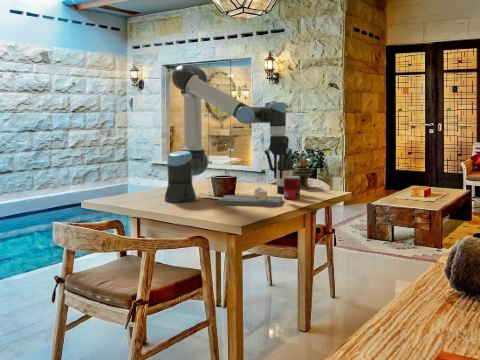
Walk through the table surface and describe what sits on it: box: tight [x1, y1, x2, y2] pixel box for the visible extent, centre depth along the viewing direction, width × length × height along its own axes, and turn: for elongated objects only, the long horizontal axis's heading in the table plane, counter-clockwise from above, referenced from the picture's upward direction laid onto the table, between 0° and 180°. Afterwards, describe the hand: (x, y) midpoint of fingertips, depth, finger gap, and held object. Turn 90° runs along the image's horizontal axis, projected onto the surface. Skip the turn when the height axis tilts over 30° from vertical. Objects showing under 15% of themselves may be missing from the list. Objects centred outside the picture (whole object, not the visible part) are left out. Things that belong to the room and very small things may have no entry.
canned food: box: [283, 176, 301, 201], centre depth 255 cm, size 8×8×11 cm
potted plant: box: [293, 152, 313, 190], centre depth 291 cm, size 20×10×20 cm, turn 7°
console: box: [218, 194, 283, 207], centre depth 245 cm, size 28×16×2 cm, turn 80°
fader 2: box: [259, 189, 268, 201], centre depth 239 cm, size 3×5×4 cm, turn 170°
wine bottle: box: [276, 135, 294, 195], centre depth 271 cm, size 8×8×30 cm
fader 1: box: [254, 186, 264, 197], centre depth 248 cm, size 3×5×4 cm, turn 170°
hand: (278, 185), depth 246 cm, fingers closed
